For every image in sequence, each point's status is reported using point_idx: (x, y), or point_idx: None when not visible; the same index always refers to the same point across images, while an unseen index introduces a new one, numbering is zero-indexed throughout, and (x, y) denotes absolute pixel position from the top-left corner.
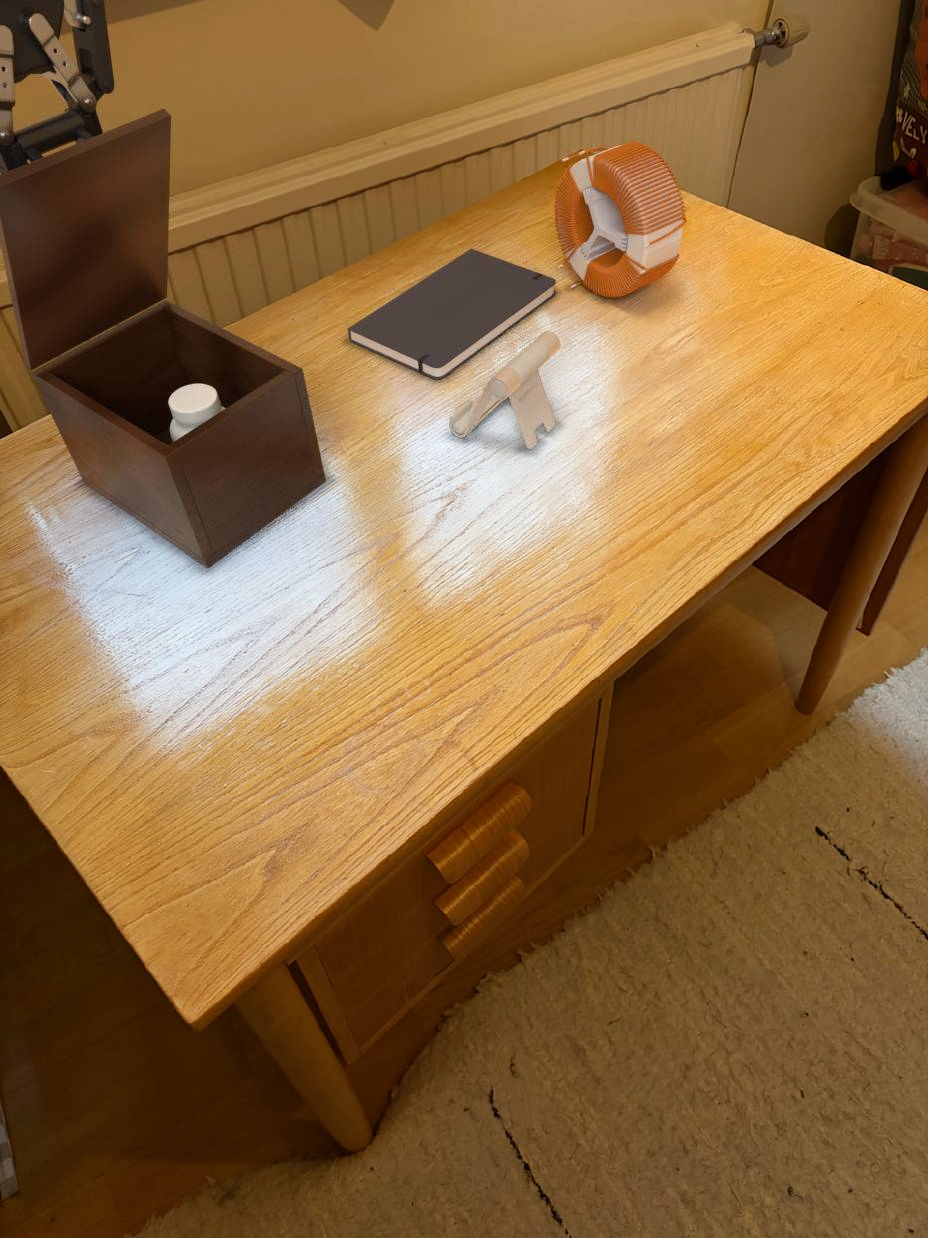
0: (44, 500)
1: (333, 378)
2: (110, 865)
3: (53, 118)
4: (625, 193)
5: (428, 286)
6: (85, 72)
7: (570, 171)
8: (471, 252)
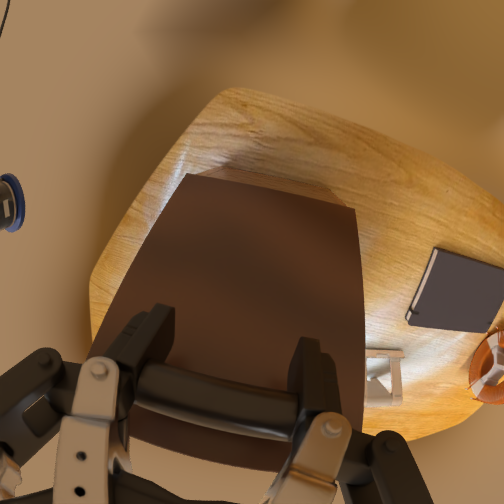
0: (193, 155)
1: (394, 259)
2: (96, 329)
3: (232, 432)
4: (493, 396)
5: (483, 273)
6: (368, 471)
7: None
8: None
